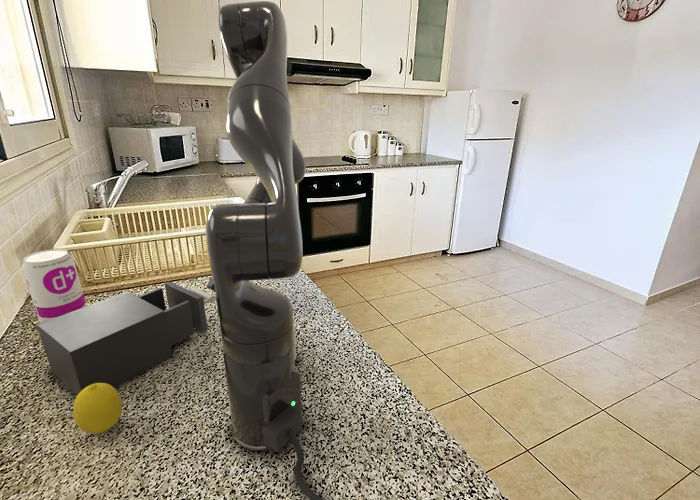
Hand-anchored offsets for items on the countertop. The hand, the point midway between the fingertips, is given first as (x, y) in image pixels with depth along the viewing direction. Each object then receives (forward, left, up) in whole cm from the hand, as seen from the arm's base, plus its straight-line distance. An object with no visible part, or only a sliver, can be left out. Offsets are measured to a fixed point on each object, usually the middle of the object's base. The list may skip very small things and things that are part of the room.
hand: (211, 289), depth 81 cm
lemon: (-14, +29, -6) cm, 33 cm away
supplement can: (+23, +20, -6) cm, 31 cm away
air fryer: (0, +21, -6) cm, 22 cm away
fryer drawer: (0, +10, -5) cm, 12 cm away
